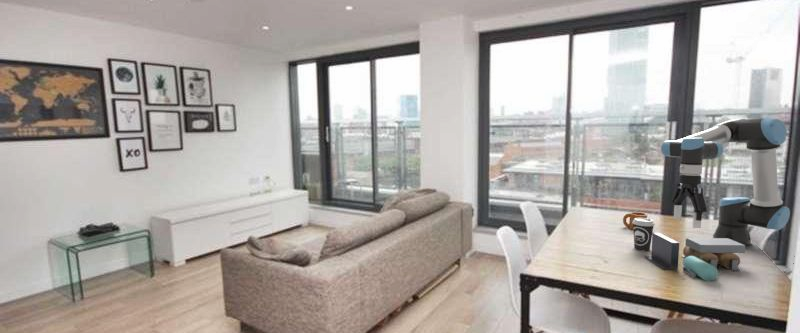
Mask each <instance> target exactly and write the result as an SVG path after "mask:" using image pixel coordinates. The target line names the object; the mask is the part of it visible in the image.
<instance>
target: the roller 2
mask: <svg viewBox="0 0 800 333" xmlns="http://www.w3.org/2000/svg"><path fill="white" fill-rule="evenodd" d="M682 265H683V267H686V268H687V269H689V270H691V271H692V272H694V273H696V277H697V276H698V277H699V278H701V279H702V280H704V281H706V282H712V281H715V280H716V279H717V278H718V276H719V271H718V270H717V269H718V267H717V268H716V267H714V266H712V265H710V264H708V263H706V262H704V261H703V260H701V259H699V258H697V257H695V256H688V257H686V258H683V261H682Z"/></svg>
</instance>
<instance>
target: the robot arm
mask: <svg viewBox="0 0 800 333" xmlns="http://www.w3.org/2000/svg"><path fill="white" fill-rule="evenodd" d="M787 131H788V130H787V127H786V125H785V123H784V122H783V121H782V120H781V119H779V118H770V117H764V118H763V117H761V118H760V117H757V118H755V117H754V118H734V119H731V120H726V121H724V122H721V123H717V124H714V125H713V126H711V127H710V128H708V129H705V130H703V131H700V132H698V133H697V132H696V133H694V134H692V135H687V136H686V137H683V138H679V139H676V140H672V139H671V140H664V141H663V142H662V143H661V147H660V152H661V154H662V155H663V156H665V157H671V158H680V161H679V162H680V164H679V165H680V166H679V175H678V183H676V188H675V190H674V193H673V195H672V197H671V200H670V201H671V203H673V205H674V206H673V220H676V221H681V220H682V211H683V210H682V209H683V202H684V200H685V199H686V197H687V198H689V199H690V201H691V204H692V206H693V208H694V211H693V218H692V229H702V220H703V214H704V213H707V212H708V210H707V206H706V202H705V197H704V189H703V187H698V185H701V184H702V174H703V160H715V159H718V158H720V157H721V156H722V155H723V152H724V147H723V145H722V144H725V143H738V144H739V143H741V144H745V145H746V149H747V150H748V151H749V152H750V153H751V154H750V155H751V156H750V157H751V172H752V185H753V186H752V187H753V198H749V197H745V196H733V197H732V196H730V197H729V196H728V197H723V198H721V199H720V200H719V205H718V206H719V208H718V209H719V210H718V222H717V223H718V225H717V226H716V228H715V230H714V233H713V234H712V238H728V239H731V240H733V241H736V242H738V243H741V244H743V245H745V246H751V244H752V238H751V235H750V232H749V229H748V226H753V227H758V228H762V229H767V230H772V231H773V230H775V231H779V230H782V229H783V228H785V227H786V225H787V224H788V222H789V219H790V216H791V210H790V208H789V207H787V206H786V205H785V206H784V201H783V200H782V199H781V198H779V188H778V187H779V184H778V182H779V181H778V168H777V167H778V165H777V162H778V160H777V150H778V149H779V148H781V145H783V144H784V143H785V142H786V140H787V134H788V132H787Z"/></svg>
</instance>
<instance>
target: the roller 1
mask: <svg viewBox="0 0 800 333" xmlns="http://www.w3.org/2000/svg"><path fill="white" fill-rule="evenodd" d="M682 253H683V256H686V257H688V256H695V257H697V258H699V259H701V260H703V261H704V262H706V263H708V264H709V259H717V266H718V265H719V264H718V263H719V259H718V257H717V256H716V255H715V254H713V253H700V252H698V251H696V250H694V249H692V248H690V247H688V246H686V245H685V246H684V247H683V250H682Z"/></svg>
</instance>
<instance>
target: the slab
mask: <svg viewBox="0 0 800 333" xmlns="http://www.w3.org/2000/svg"><path fill="white" fill-rule="evenodd" d="M685 246H688V247H690V248H692V249H694V250H696V251H698V252H700V253H733V254H745V253H746V245H743V244H741V243H738V242H736V241H733V240H731V239H728V238H713V237H685Z"/></svg>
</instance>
